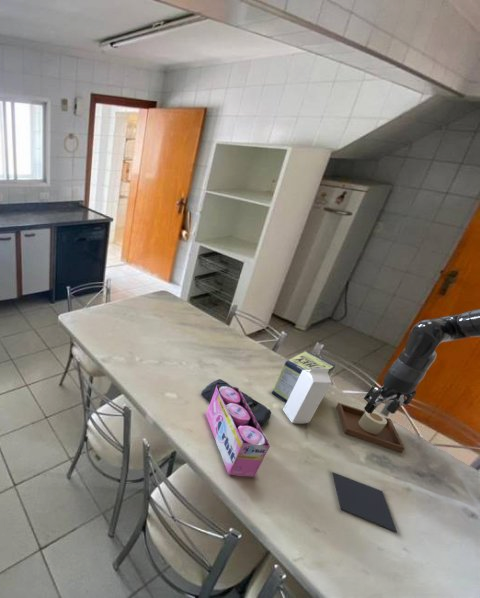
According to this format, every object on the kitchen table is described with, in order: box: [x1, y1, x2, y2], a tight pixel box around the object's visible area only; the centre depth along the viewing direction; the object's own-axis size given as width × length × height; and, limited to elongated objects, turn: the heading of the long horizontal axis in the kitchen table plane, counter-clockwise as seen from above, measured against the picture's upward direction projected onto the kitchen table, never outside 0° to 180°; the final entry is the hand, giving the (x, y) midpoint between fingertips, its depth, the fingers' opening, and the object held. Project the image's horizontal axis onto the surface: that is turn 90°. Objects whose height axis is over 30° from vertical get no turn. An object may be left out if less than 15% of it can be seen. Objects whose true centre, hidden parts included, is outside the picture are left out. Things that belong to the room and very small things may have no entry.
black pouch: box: [200, 378, 272, 427], centre depth 119 cm, size 15×22×5 cm
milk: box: [282, 368, 332, 425], centre depth 111 cm, size 6×6×22 cm
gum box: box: [205, 385, 271, 478], centre depth 102 cm, size 24×8×14 cm, turn 178°
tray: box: [335, 402, 406, 454], centre depth 113 cm, size 16×14×3 cm
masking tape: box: [359, 410, 387, 434], centre depth 112 cm, size 6×6×5 cm
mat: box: [331, 472, 398, 533], centre depth 90 cm, size 12×12×1 cm
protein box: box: [271, 350, 336, 404], centre depth 123 cm, size 10×16×16 cm
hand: (378, 411), depth 110 cm, fingers open, 8 cm apart
